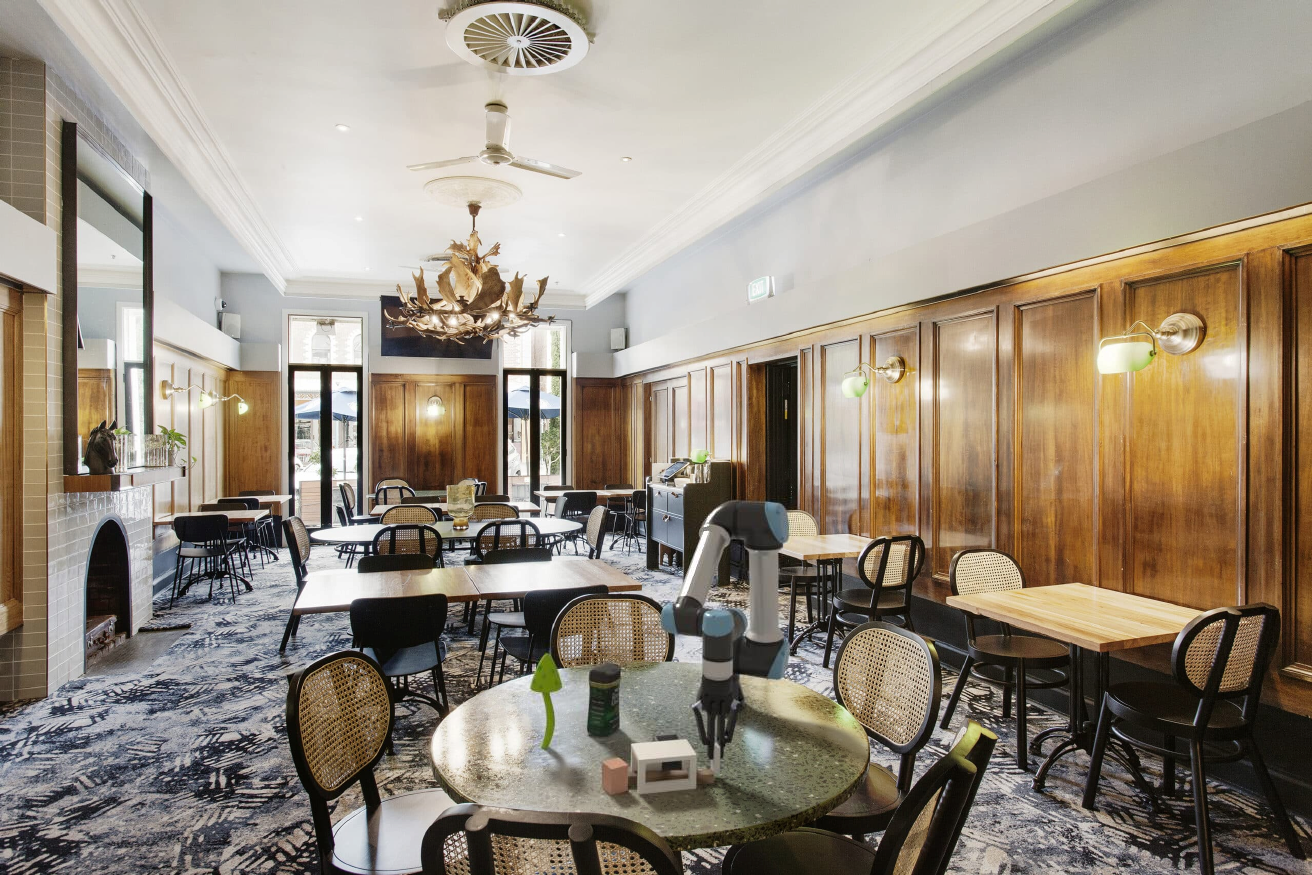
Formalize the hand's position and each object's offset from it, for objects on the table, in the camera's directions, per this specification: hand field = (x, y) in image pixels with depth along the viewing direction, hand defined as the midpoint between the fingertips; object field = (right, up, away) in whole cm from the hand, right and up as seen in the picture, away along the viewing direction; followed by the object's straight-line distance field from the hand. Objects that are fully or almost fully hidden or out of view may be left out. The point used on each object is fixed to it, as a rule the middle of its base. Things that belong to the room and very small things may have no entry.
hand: (715, 771), depth 173 cm
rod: (-12, -2, -3) cm, 12 cm away
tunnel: (-14, -1, 0) cm, 14 cm away
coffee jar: (-29, -1, +26) cm, 39 cm away
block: (-24, -1, -6) cm, 25 cm away
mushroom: (-44, -1, +15) cm, 47 cm away
